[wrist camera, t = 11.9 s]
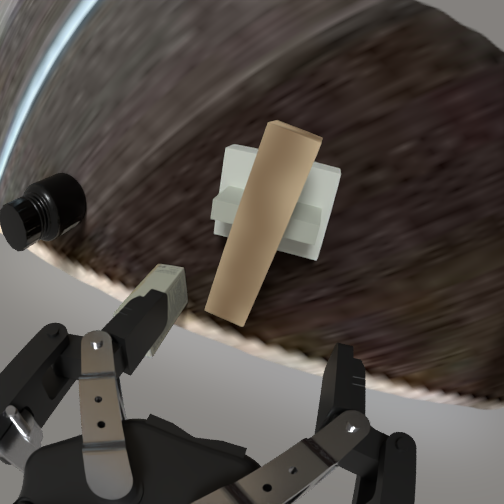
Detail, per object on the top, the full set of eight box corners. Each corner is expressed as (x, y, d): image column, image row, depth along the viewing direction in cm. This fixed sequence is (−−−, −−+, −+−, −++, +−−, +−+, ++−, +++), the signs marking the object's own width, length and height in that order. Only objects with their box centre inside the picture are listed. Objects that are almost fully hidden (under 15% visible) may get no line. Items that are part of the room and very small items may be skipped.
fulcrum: (340, 168, 33) (342, 186, 26) (318, 249, 38) (313, 284, 31) (234, 144, 34) (208, 155, 27) (222, 224, 39) (197, 252, 32)
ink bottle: (47, 212, 46) (-4, 241, 35) (50, 164, 42) (-7, 187, 31) (87, 234, 45) (35, 270, 35) (92, 183, 41) (32, 212, 31)
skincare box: (158, 262, 44) (110, 311, 34) (186, 266, 43) (142, 319, 33) (163, 299, 47) (122, 350, 36) (189, 304, 46) (152, 359, 35)
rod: (322, 138, 24) (321, 143, 21) (252, 303, 33) (243, 327, 30) (277, 120, 25) (268, 122, 21) (217, 288, 33) (204, 310, 30)
